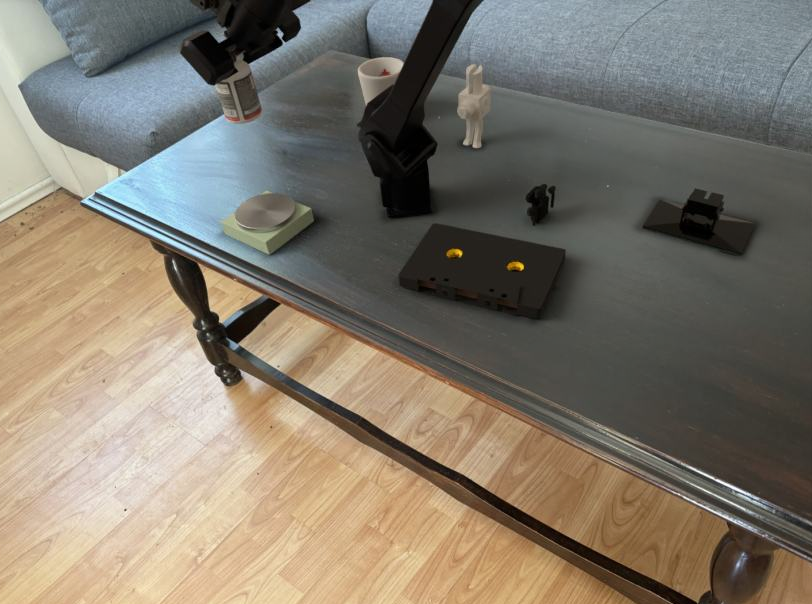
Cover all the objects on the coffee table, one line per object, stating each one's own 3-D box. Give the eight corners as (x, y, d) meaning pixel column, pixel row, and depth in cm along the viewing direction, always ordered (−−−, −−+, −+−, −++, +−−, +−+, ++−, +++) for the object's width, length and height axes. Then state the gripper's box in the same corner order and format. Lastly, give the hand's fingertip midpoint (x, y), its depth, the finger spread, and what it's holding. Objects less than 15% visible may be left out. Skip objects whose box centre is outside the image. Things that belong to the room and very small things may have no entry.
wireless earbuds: (530, 234, 87) (533, 202, 84) (514, 228, 88) (516, 196, 85) (556, 208, 91) (559, 176, 87) (540, 202, 92) (543, 171, 88)
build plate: (754, 226, 85) (765, 195, 82) (739, 257, 81) (750, 227, 78) (659, 200, 90) (666, 171, 87) (640, 229, 86) (647, 199, 83)
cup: (427, 100, 116) (424, 55, 110) (423, 123, 110) (420, 76, 105) (367, 102, 117) (361, 57, 111) (360, 124, 112) (354, 78, 106)
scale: (271, 202, 97) (266, 184, 95) (315, 220, 93) (311, 202, 91) (225, 234, 93) (218, 216, 90) (269, 255, 88) (264, 237, 86)
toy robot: (496, 133, 106) (498, 59, 98) (473, 156, 102) (473, 80, 93) (475, 128, 108) (475, 55, 99) (451, 150, 104) (449, 75, 95)
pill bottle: (261, 104, 104) (244, 40, 97) (263, 121, 100) (246, 55, 93) (225, 111, 103) (205, 47, 96) (226, 128, 99) (205, 62, 92)
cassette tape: (398, 287, 82) (397, 274, 80) (434, 234, 89) (433, 220, 87) (539, 321, 76) (540, 307, 74) (565, 261, 83) (566, 247, 81)
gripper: (265, -72, 88) (230, 6, 101) (163, -28, 78) (137, 53, 91) (322, -4, 91) (280, 64, 103) (229, 49, 80) (196, 117, 93)
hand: (225, 73), depth 97 cm, fingers closed on pill bottle, 6 cm apart
